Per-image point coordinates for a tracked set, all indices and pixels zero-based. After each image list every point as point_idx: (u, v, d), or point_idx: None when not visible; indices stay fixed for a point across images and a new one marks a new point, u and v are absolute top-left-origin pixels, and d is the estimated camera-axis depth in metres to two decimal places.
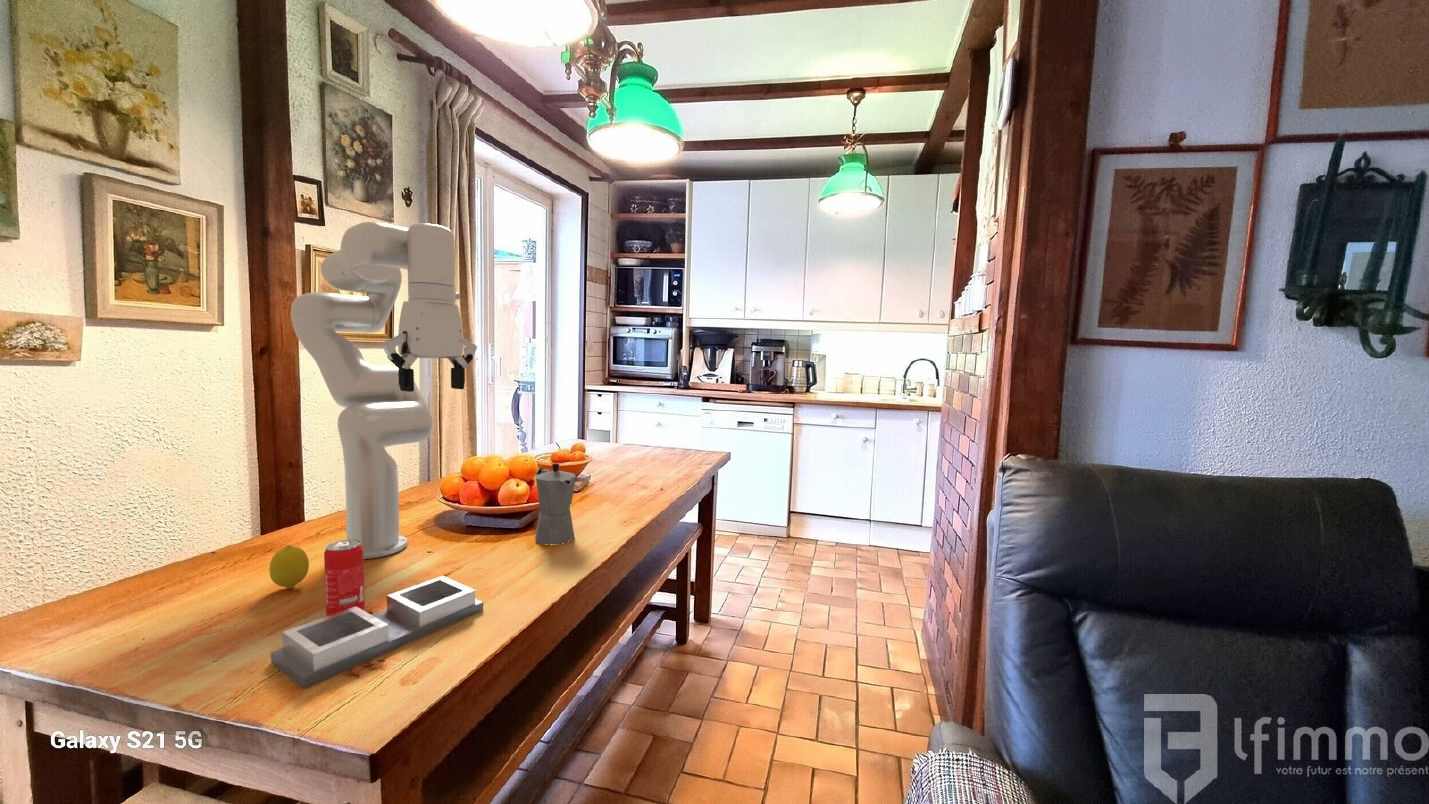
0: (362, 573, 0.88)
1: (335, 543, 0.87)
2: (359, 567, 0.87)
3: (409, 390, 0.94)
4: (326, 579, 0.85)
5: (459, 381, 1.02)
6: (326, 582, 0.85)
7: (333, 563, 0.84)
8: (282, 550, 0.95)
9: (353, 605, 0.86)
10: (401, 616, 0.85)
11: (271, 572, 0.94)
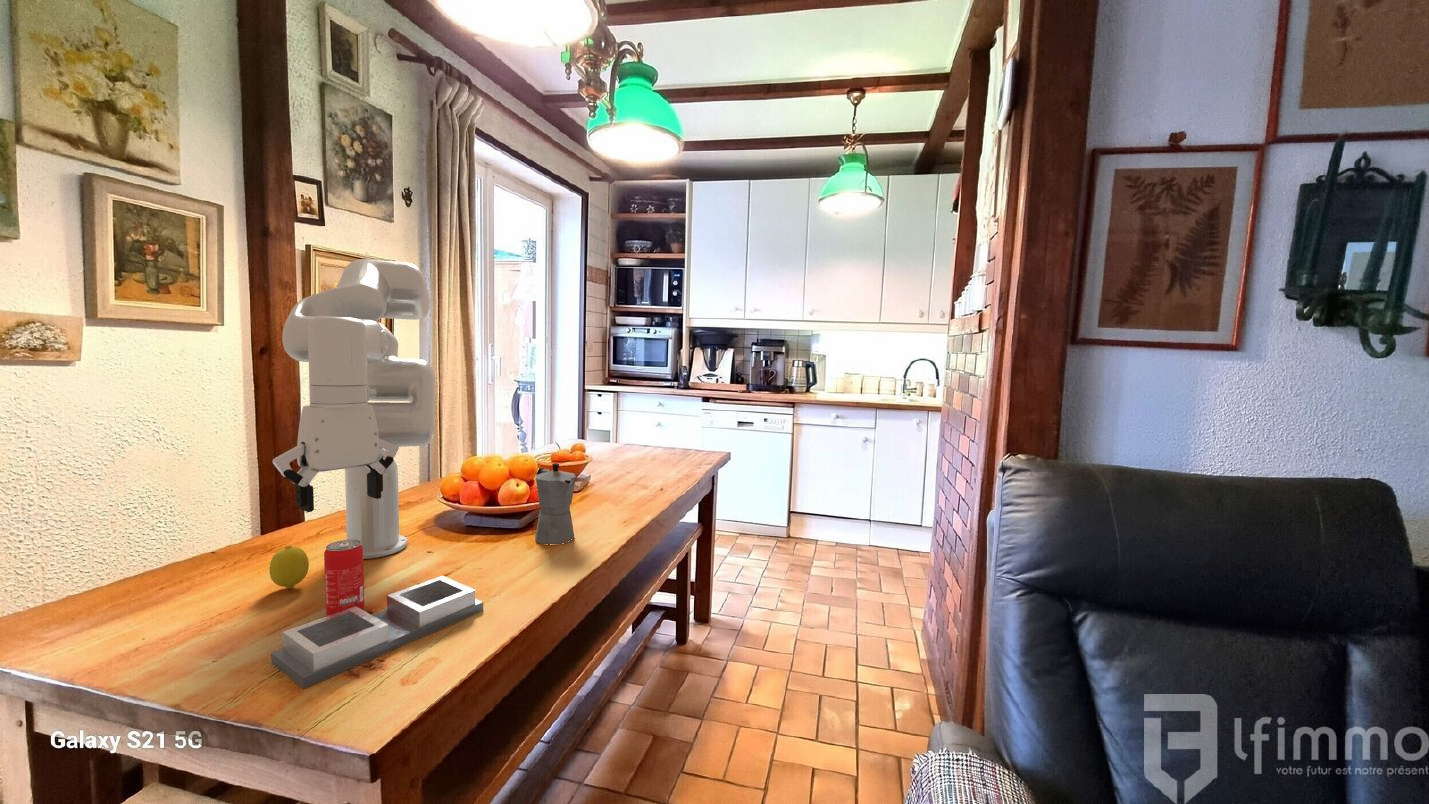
0: (362, 573, 0.88)
1: (335, 543, 0.87)
2: (359, 567, 0.87)
3: (308, 510, 0.81)
4: (326, 579, 0.85)
5: (375, 490, 0.89)
6: (326, 582, 0.85)
7: (333, 563, 0.84)
8: (282, 550, 0.95)
9: (353, 605, 0.86)
10: (401, 616, 0.85)
11: (271, 572, 0.94)
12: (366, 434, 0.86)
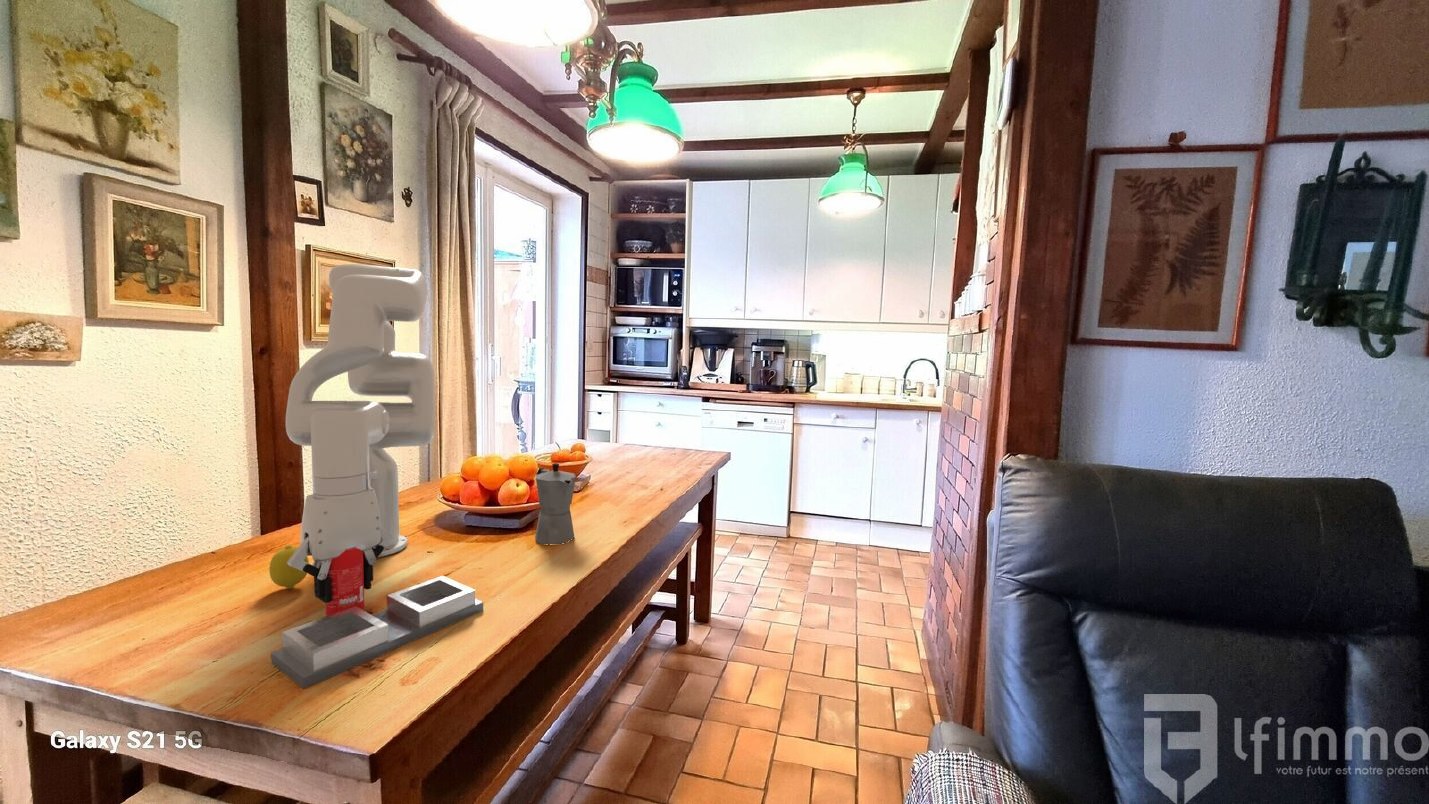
0: (362, 573, 0.88)
1: None
2: (359, 567, 0.87)
3: (326, 602, 0.84)
4: None
5: (365, 581, 0.89)
6: None
7: (333, 563, 0.84)
8: (282, 550, 0.95)
9: (353, 605, 0.86)
10: (401, 616, 0.85)
11: (271, 572, 0.94)
12: (368, 519, 0.88)
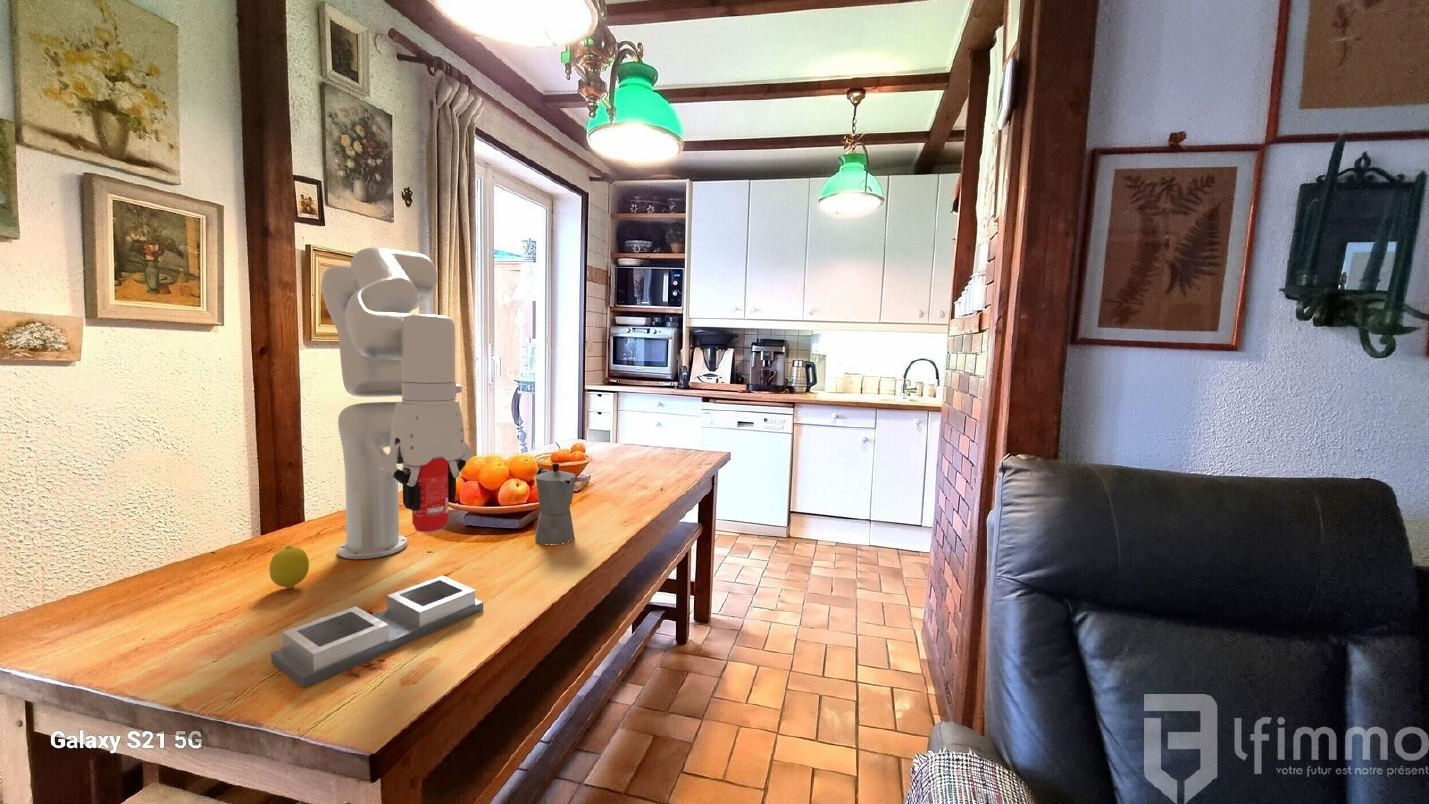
0: (447, 485, 0.88)
1: None
2: (445, 478, 0.87)
3: (414, 509, 0.84)
4: None
5: (449, 493, 0.89)
6: None
7: (422, 471, 0.84)
8: (282, 550, 0.95)
9: (440, 515, 0.86)
10: (401, 616, 0.85)
11: (271, 572, 0.94)
12: (454, 430, 0.87)
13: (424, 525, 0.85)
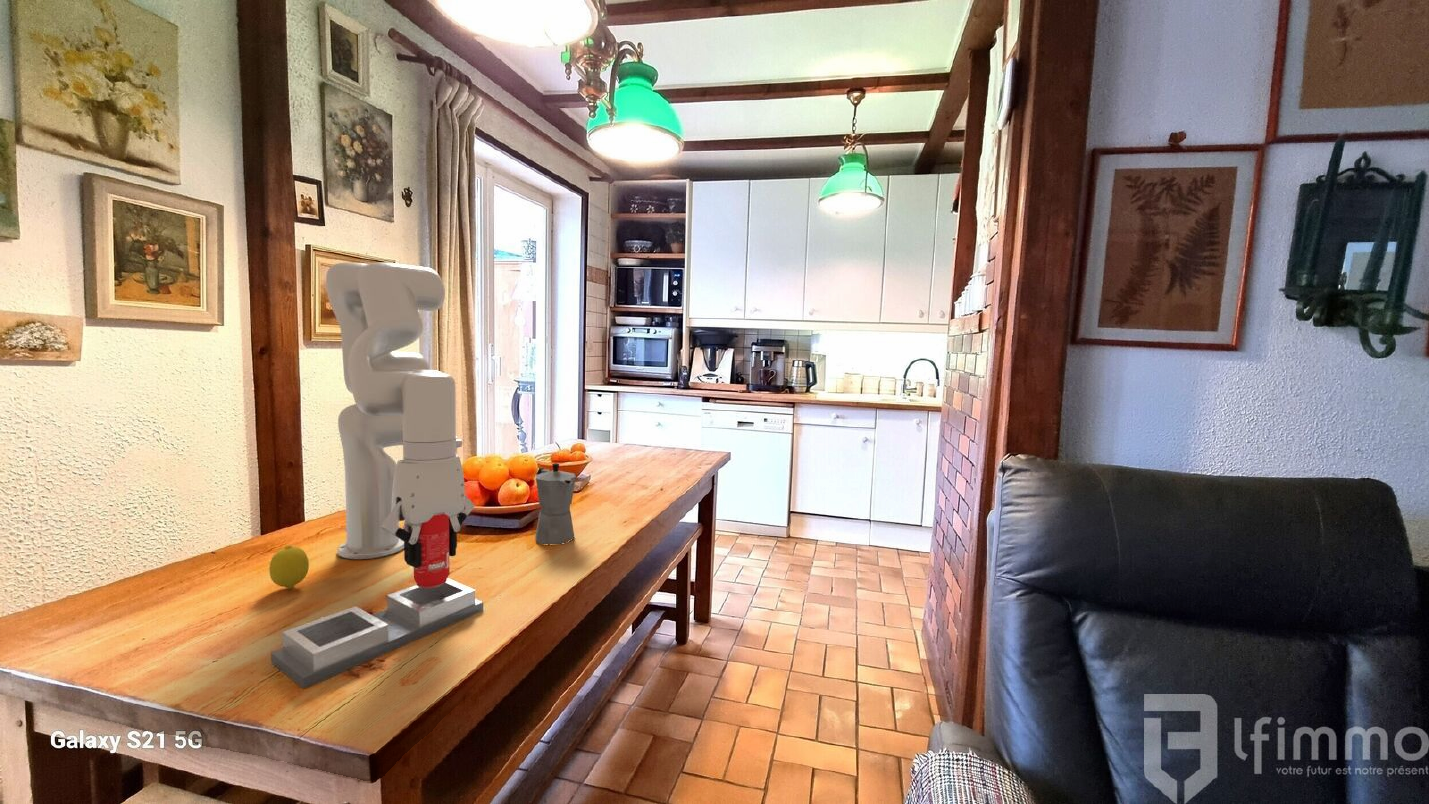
0: (448, 539, 0.88)
1: None
2: (446, 533, 0.87)
3: (416, 566, 0.85)
4: None
5: (450, 548, 0.89)
6: None
7: (423, 528, 0.85)
8: (282, 550, 0.95)
9: (441, 571, 0.87)
10: (401, 616, 0.85)
11: (271, 572, 0.94)
12: (454, 486, 0.88)
13: (426, 581, 0.86)
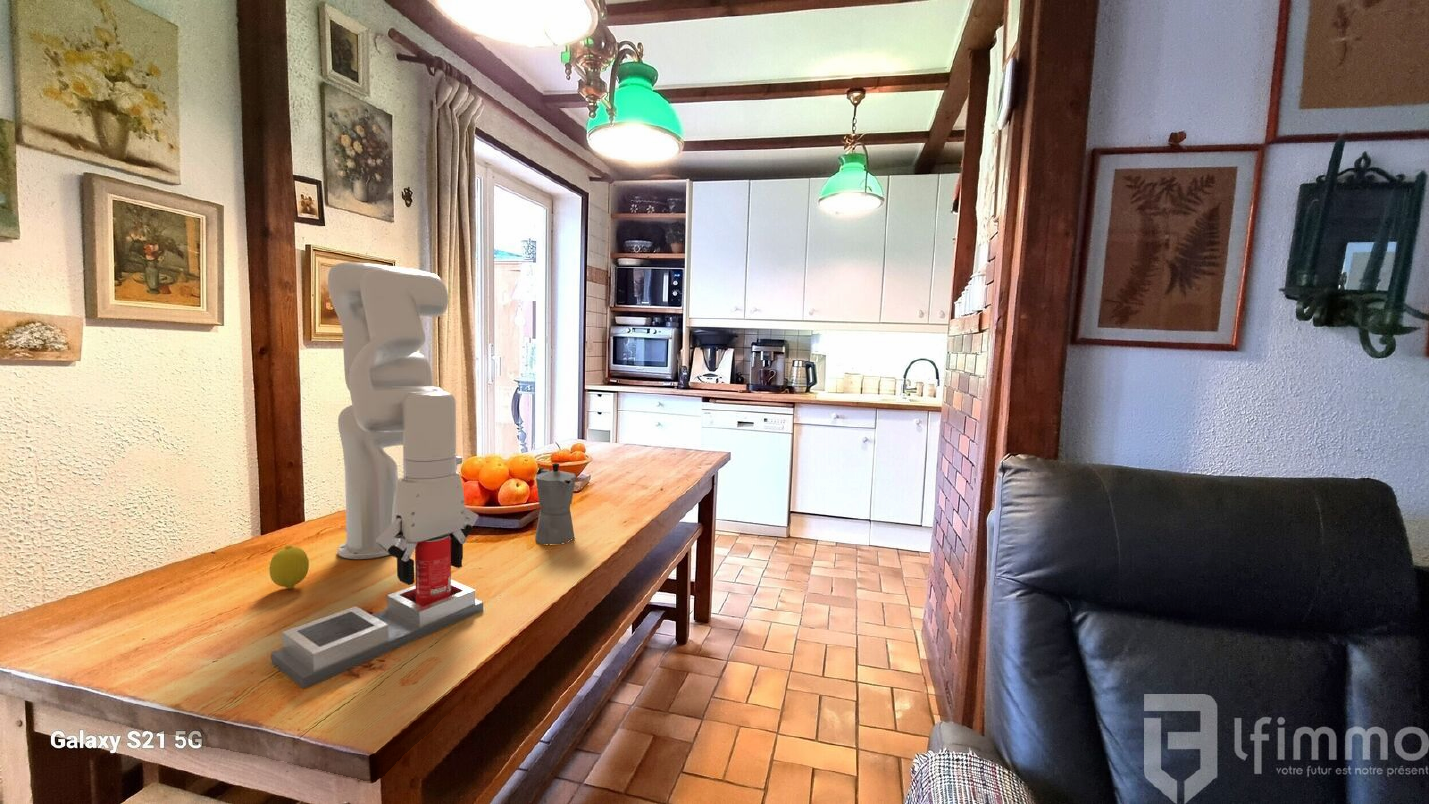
0: (450, 564, 0.89)
1: None
2: (448, 558, 0.88)
3: (409, 583, 0.84)
4: (417, 569, 0.86)
5: (456, 559, 0.91)
6: (417, 572, 0.87)
7: (425, 554, 0.86)
8: (282, 550, 0.95)
9: (443, 595, 0.88)
10: (401, 616, 0.85)
11: (271, 572, 0.94)
12: (455, 503, 0.88)
13: None
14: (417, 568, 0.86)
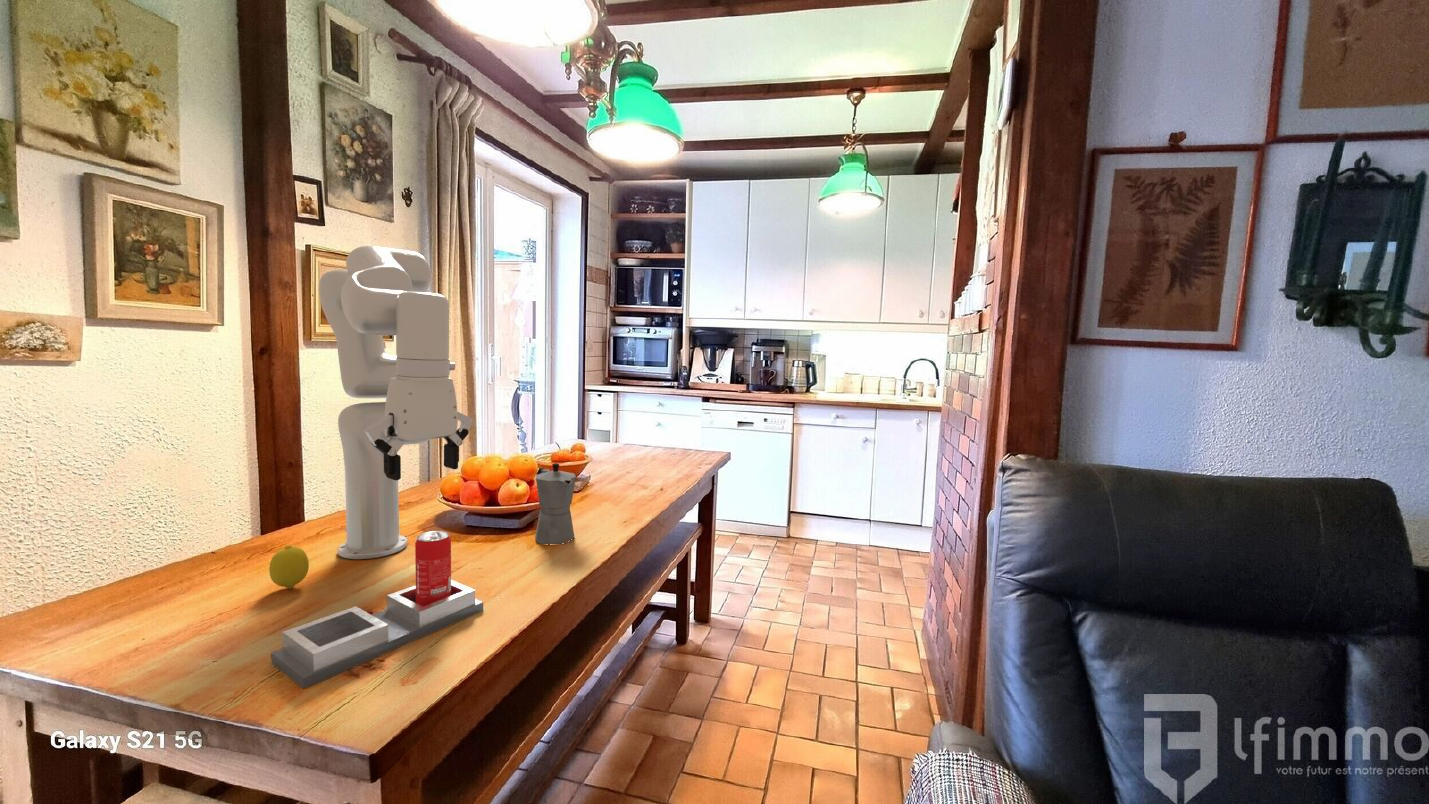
0: (450, 564, 0.89)
1: (424, 534, 0.89)
2: (448, 558, 0.88)
3: (395, 479, 0.84)
4: (417, 569, 0.87)
5: (452, 461, 0.92)
6: (417, 572, 0.87)
7: (425, 553, 0.86)
8: (282, 550, 0.95)
9: (443, 595, 0.88)
10: (401, 616, 0.85)
11: (271, 572, 0.94)
12: (447, 407, 0.89)
13: None
14: (417, 568, 0.87)
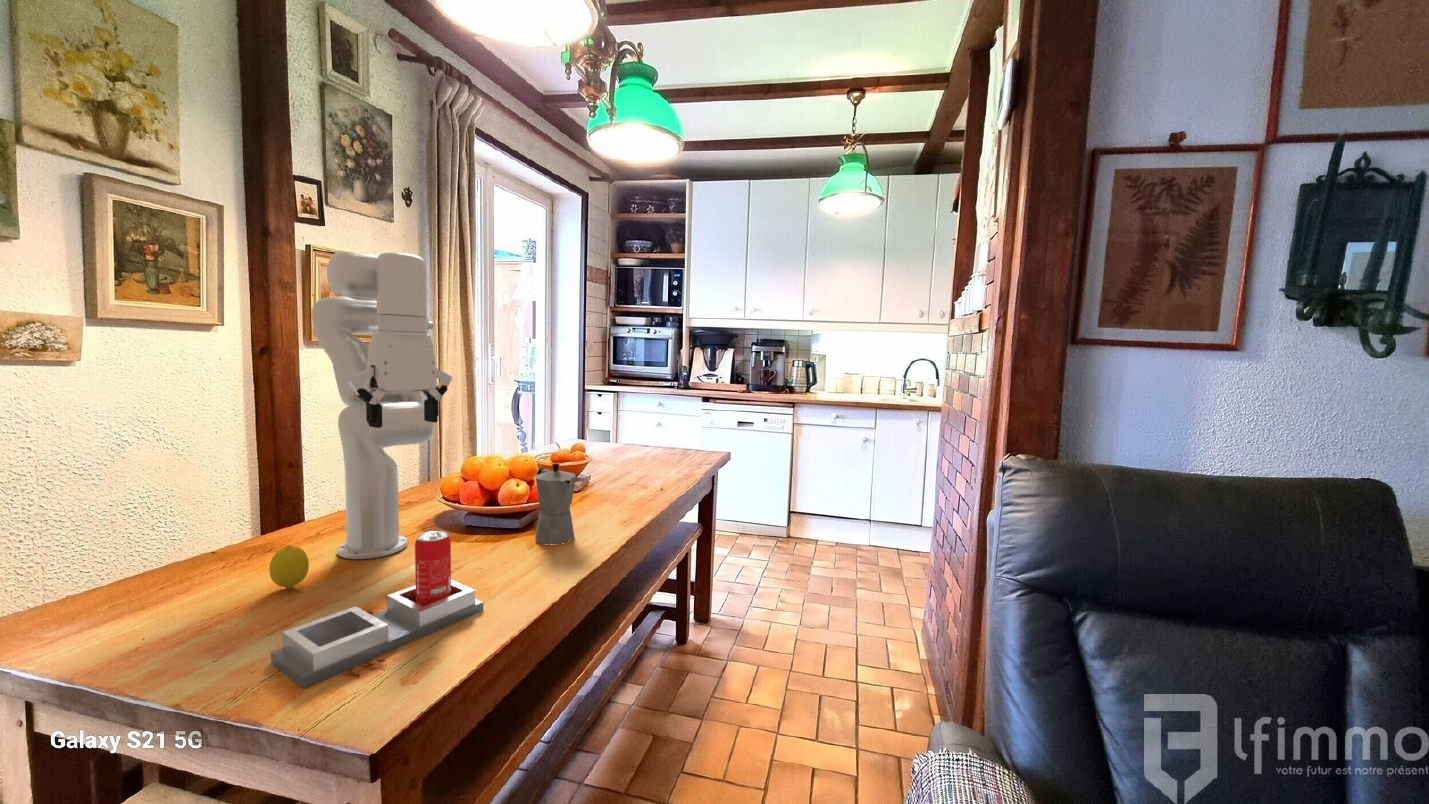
0: (450, 564, 0.89)
1: (424, 534, 0.89)
2: (447, 558, 0.88)
3: (377, 426, 0.90)
4: (417, 569, 0.87)
5: (432, 414, 0.98)
6: (417, 572, 0.87)
7: (425, 554, 0.86)
8: (282, 550, 0.95)
9: (443, 595, 0.88)
10: (401, 616, 0.85)
11: (271, 572, 0.94)
12: (426, 362, 0.95)
13: None
14: (417, 568, 0.86)
